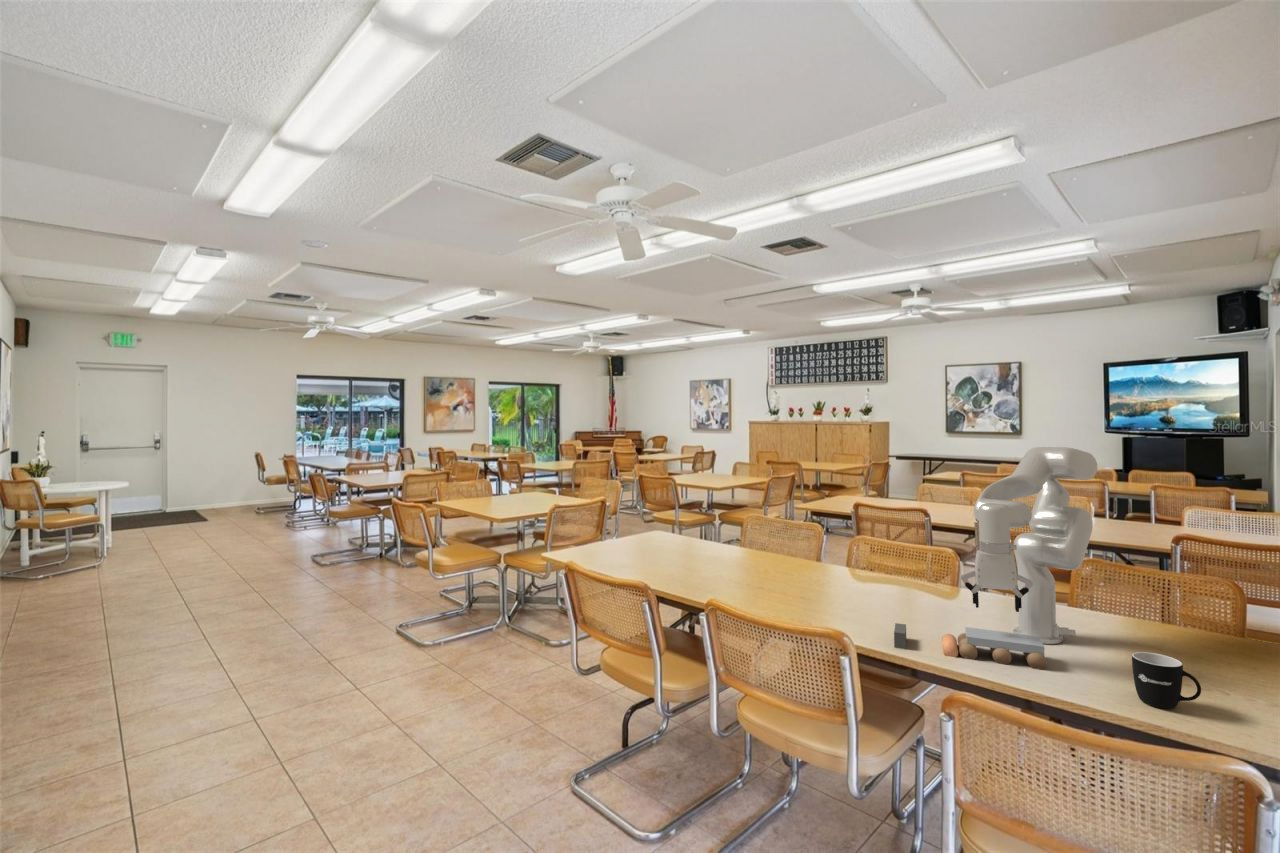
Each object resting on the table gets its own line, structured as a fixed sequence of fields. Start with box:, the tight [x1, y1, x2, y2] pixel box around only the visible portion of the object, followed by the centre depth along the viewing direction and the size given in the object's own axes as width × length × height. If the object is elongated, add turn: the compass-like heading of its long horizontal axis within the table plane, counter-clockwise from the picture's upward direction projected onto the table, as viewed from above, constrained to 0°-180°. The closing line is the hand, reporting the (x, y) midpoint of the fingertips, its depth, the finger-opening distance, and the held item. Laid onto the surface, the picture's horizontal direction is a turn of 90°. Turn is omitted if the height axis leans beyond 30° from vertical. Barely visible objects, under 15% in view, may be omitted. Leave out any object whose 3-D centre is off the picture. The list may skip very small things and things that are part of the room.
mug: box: [1131, 651, 1202, 709], centre depth 137 cm, size 12×9×10 cm
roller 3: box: [1022, 652, 1048, 671], centre depth 162 cm, size 10×4×4 cm, turn 154°
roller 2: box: [957, 632, 978, 661], centre depth 169 cm, size 10×4×4 cm, turn 154°
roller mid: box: [989, 648, 1012, 666], centre depth 166 cm, size 10×4×4 cm, turn 154°
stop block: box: [893, 622, 907, 650], centre depth 177 cm, size 3×9×5 cm, turn 154°
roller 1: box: [941, 633, 959, 658], centre depth 171 cm, size 10×4×4 cm
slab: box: [964, 626, 1045, 656], centre depth 165 cm, size 18×9×2 cm, turn 64°
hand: (996, 608), depth 167 cm, fingers open, 9 cm apart
